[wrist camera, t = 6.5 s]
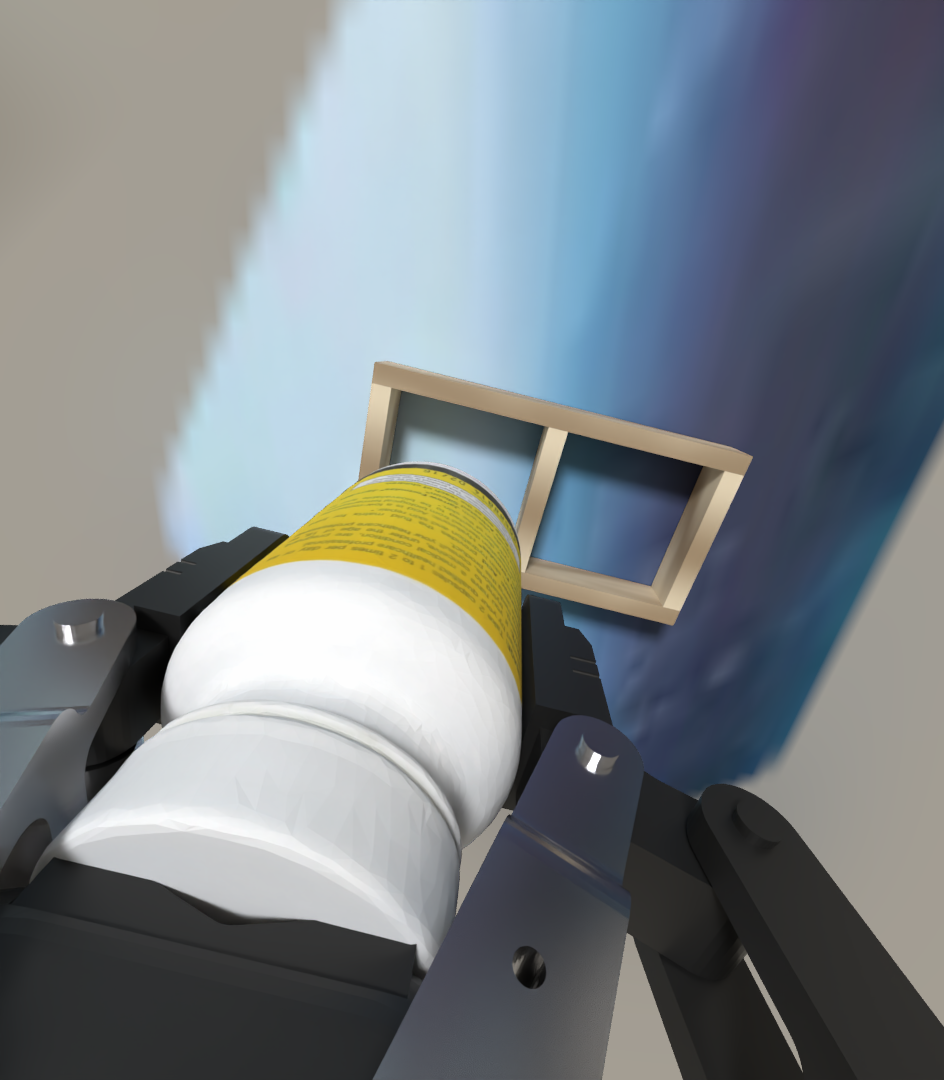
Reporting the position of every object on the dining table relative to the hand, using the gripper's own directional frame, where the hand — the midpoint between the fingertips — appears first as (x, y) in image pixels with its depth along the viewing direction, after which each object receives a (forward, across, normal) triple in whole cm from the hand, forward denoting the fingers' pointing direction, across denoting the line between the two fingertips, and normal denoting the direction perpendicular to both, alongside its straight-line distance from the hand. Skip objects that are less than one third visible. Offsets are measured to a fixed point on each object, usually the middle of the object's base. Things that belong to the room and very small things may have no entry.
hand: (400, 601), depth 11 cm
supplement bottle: (+3, 0, 0) cm, 3 cm away
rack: (+12, -4, 0) cm, 13 cm away
